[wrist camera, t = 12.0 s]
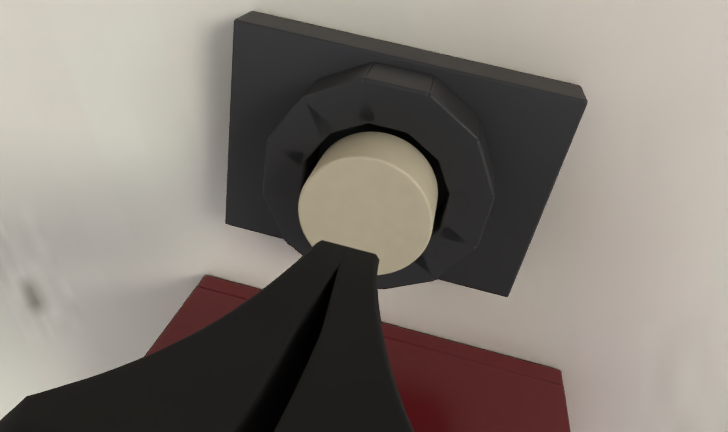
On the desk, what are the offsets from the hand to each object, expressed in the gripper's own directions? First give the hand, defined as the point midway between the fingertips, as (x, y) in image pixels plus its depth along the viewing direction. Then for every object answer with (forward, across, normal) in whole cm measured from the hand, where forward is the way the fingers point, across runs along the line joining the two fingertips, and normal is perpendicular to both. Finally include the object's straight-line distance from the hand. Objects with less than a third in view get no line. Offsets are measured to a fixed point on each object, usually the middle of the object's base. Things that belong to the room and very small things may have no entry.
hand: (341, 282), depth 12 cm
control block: (+7, 0, 0) cm, 7 cm away
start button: (+4, 0, 0) cm, 4 cm away
